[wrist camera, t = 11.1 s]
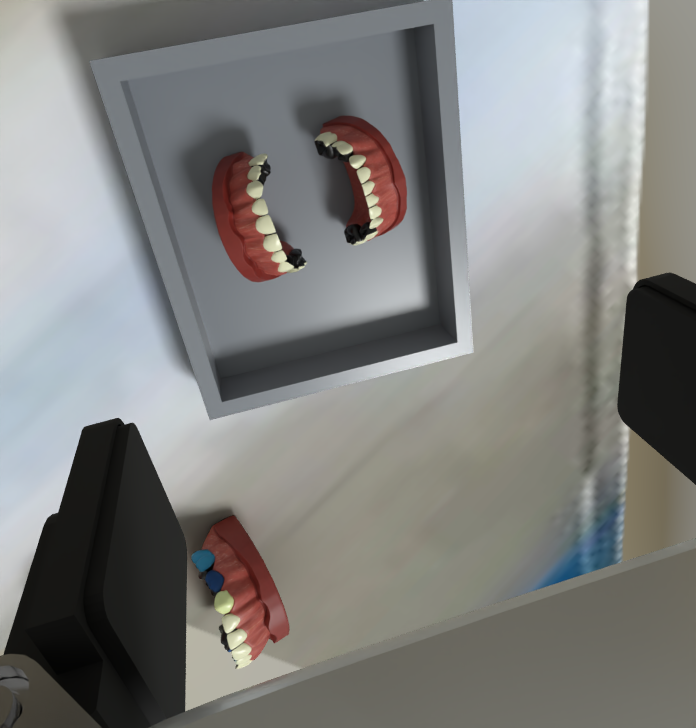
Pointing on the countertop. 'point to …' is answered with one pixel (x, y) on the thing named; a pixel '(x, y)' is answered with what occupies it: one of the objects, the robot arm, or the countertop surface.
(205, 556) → the teeth model
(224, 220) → the denture
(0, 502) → the countertop surface
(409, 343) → the tray
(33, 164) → the countertop surface
